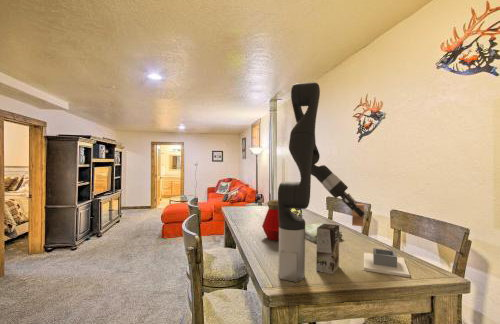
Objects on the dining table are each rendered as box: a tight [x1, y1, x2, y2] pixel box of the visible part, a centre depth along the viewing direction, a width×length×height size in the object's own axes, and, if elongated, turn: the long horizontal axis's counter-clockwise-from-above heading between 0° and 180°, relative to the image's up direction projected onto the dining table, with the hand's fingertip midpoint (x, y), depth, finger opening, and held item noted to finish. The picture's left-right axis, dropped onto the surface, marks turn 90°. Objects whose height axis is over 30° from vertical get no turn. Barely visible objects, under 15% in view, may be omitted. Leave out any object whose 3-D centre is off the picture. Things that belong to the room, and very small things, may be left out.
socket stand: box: [363, 247, 411, 278], centre depth 107 cm, size 18×15×5 cm
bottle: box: [262, 199, 279, 242], centre depth 141 cm, size 16×14×20 cm
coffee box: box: [315, 223, 340, 275], centre depth 102 cm, size 9×6×16 cm
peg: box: [351, 202, 365, 227], centre depth 118 cm, size 4×4×9 cm
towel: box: [305, 222, 343, 243], centre depth 147 cm, size 18×21×5 cm
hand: (362, 214), depth 117 cm, fingers closed on peg, 4 cm apart
